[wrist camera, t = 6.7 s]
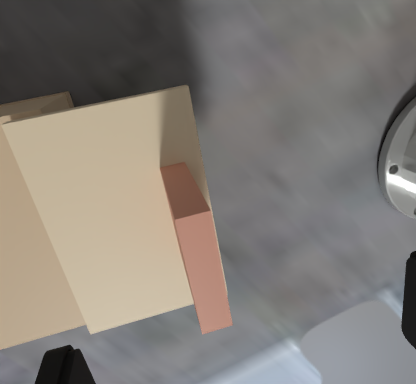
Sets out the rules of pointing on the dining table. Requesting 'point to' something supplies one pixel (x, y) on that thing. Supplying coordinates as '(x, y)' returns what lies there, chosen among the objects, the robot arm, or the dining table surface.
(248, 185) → the dining table surface
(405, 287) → the robot arm
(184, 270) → the flap
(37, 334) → the carton
